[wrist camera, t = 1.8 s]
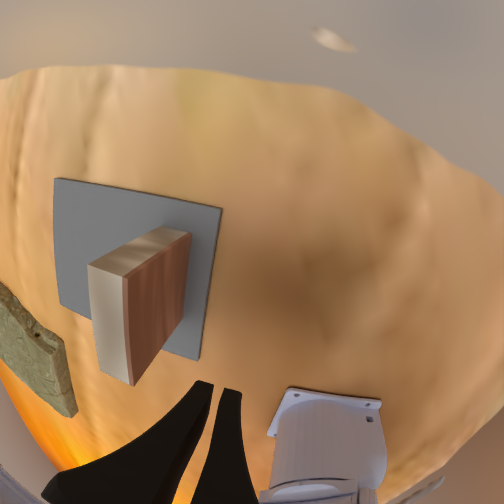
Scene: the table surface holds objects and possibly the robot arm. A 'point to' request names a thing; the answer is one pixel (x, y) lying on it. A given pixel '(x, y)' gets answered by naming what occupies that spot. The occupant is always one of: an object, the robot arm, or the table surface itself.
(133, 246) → the slab
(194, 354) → the mat
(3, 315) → the decorative tile
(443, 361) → the table surface
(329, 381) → the table surface
